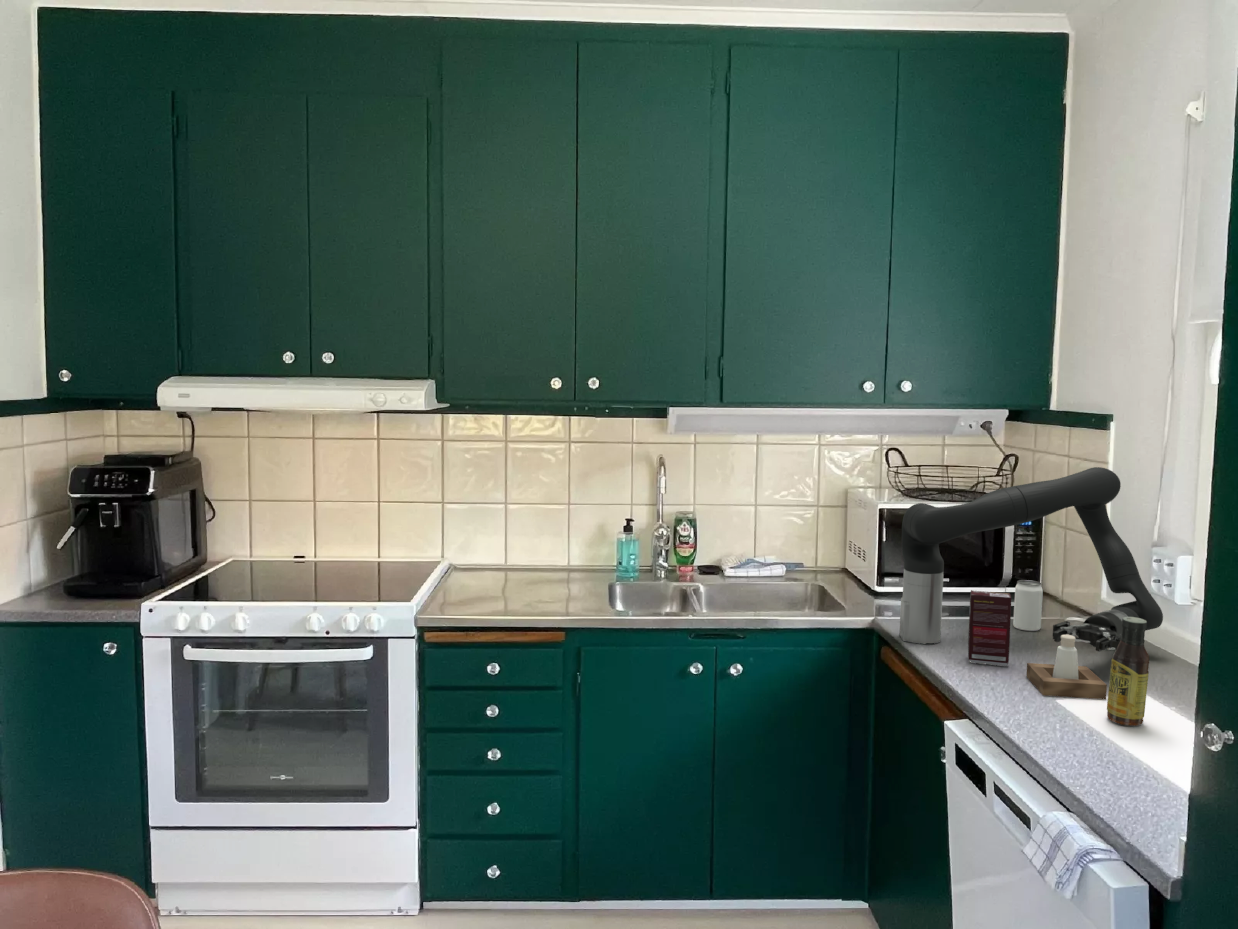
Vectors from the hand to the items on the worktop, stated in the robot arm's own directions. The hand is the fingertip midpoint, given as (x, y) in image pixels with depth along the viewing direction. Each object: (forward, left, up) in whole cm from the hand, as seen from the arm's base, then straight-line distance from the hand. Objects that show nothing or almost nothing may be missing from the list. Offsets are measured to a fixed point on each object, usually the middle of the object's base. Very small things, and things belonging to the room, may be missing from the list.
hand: (1076, 641), depth 195 cm
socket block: (-3, -3, -9) cm, 10 cm away
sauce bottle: (+2, -22, -9) cm, 24 cm away
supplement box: (-15, +12, -9) cm, 21 cm away
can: (+2, +44, -9) cm, 45 cm away
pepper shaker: (-3, -3, -9) cm, 10 cm away
